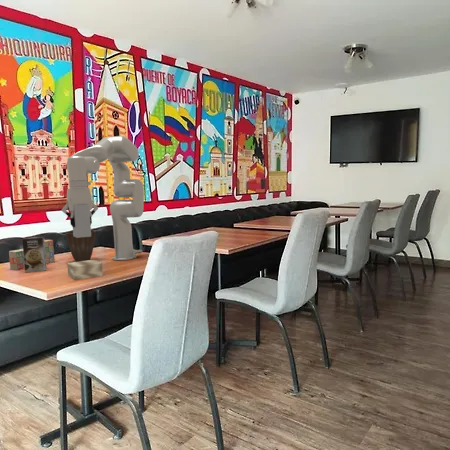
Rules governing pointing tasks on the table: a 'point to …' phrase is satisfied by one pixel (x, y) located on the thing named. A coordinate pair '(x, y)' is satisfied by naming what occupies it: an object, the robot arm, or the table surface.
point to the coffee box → (34, 254)
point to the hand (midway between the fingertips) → (81, 225)
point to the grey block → (82, 221)
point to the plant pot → (81, 246)
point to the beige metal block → (84, 269)
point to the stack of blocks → (18, 256)
